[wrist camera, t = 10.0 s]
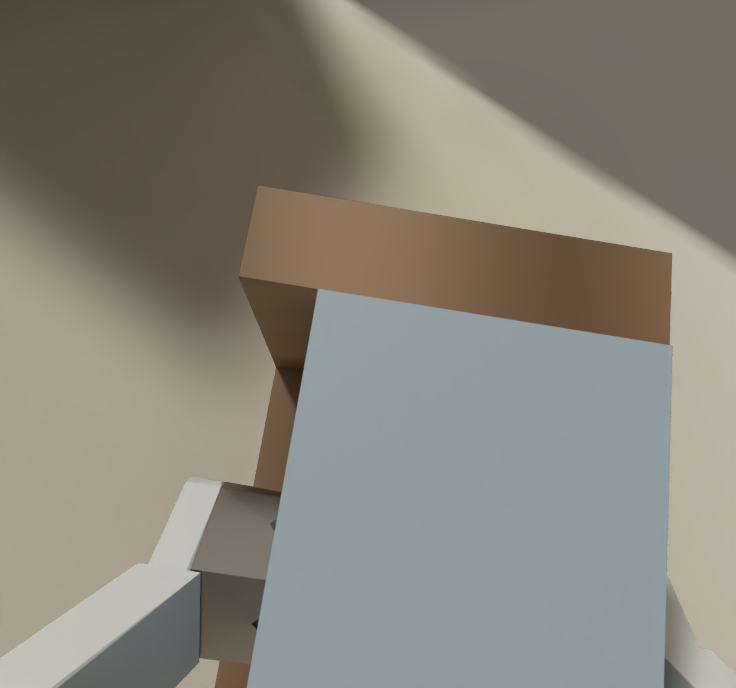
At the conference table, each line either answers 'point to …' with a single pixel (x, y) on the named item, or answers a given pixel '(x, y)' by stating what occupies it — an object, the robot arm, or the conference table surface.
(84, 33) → the conference table surface
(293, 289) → the brown wooden holder
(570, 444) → the blue-grey rectangular block
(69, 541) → the conference table surface
